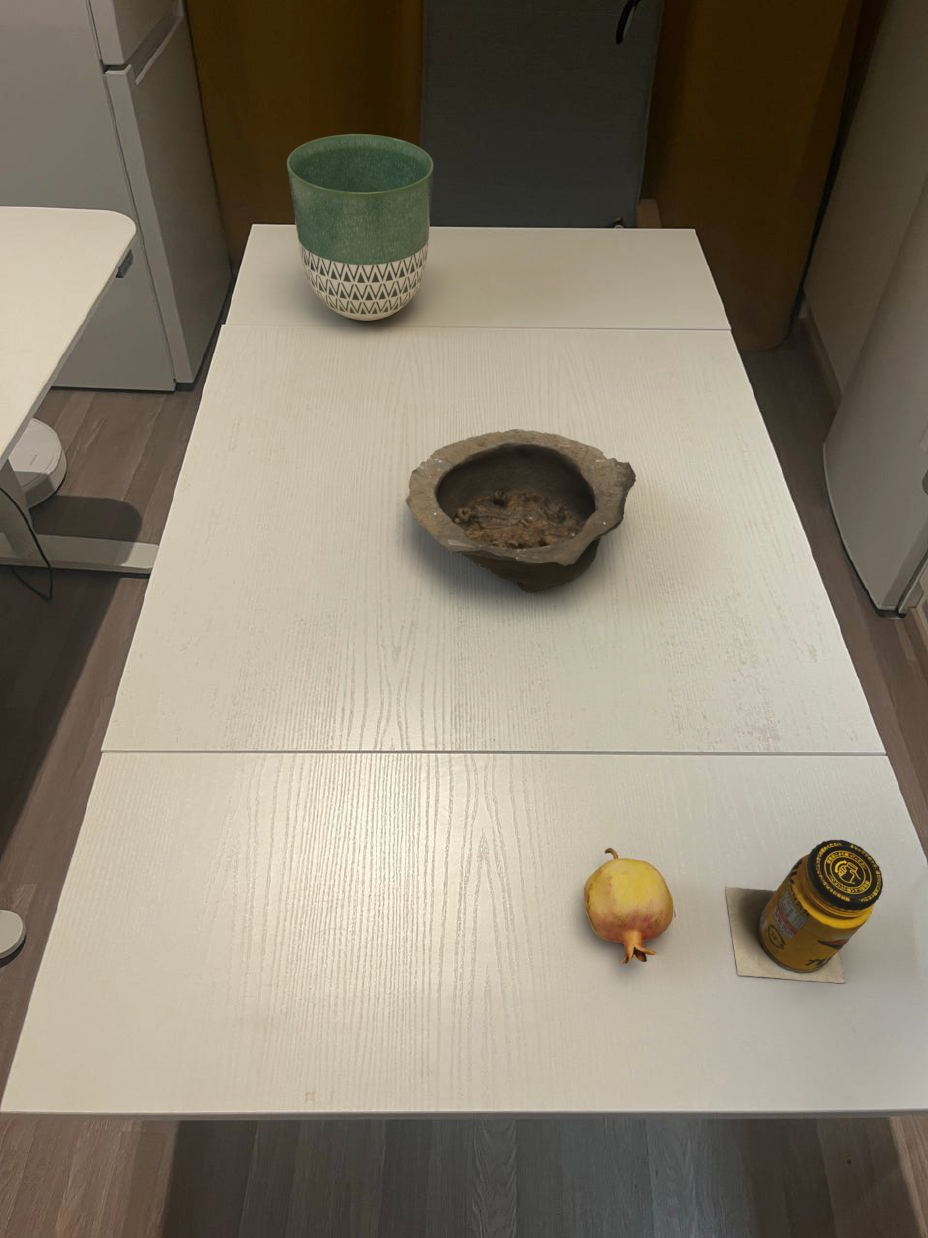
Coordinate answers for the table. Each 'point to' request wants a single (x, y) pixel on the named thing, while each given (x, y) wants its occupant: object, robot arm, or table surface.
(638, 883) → the fruit
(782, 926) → the condiment
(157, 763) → the table surface
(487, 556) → the stone bowl
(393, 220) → the planter
